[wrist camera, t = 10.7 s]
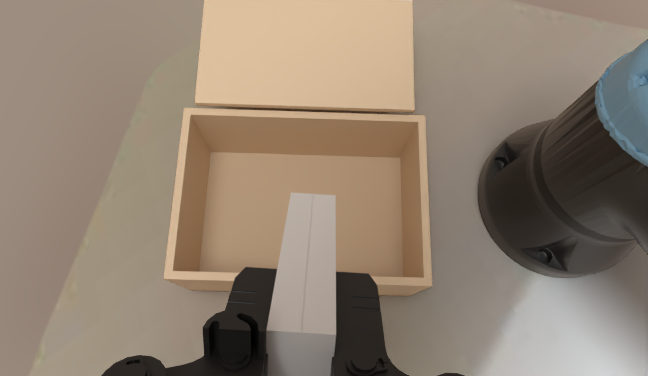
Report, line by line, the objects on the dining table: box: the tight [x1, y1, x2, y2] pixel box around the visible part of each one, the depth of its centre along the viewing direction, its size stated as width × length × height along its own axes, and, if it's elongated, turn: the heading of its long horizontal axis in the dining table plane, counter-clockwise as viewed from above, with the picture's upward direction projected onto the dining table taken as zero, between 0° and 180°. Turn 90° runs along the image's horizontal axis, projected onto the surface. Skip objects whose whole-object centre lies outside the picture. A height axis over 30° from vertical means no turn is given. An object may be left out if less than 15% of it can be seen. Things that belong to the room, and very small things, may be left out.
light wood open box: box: [164, 108, 432, 296], centre depth 43 cm, size 20×14×9 cm
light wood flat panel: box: [195, 0, 415, 113], centre depth 41 cm, size 18×1×12 cm
